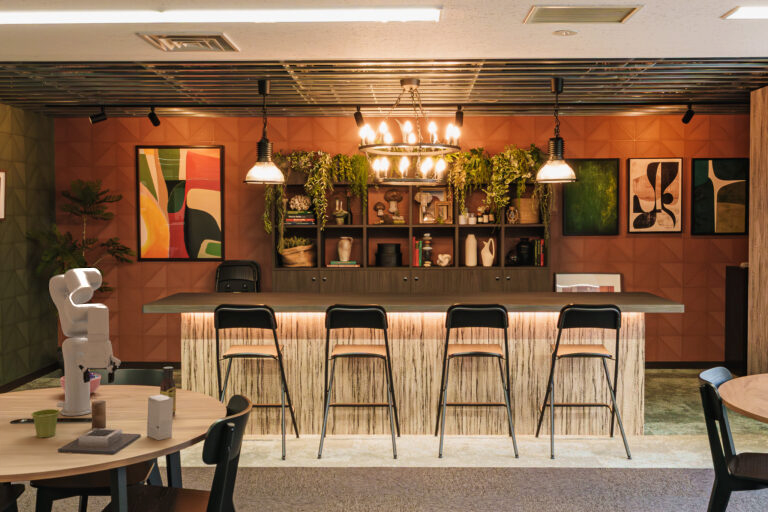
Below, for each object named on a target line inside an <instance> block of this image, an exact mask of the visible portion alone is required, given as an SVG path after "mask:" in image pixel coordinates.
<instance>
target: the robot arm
mask: <svg viewBox="0 0 768 512" xmlns="http://www.w3.org/2000/svg"><path fill="white" fill-rule="evenodd" d="M102 282H103V277H102V274H101V271H99V270H98V269H97V268H95V267H91V268H88V267H87V268H85V267H84V268H82V267H81V268H71V269H68V270H67V271H66V272H65V273H64V274H58V275H55V276H52V277H51V278H50V279H49V284H48V287H49V294H50V297H51V299H52V300H51V301H52V302H53V303H54V304H55V307H56V309H57V311H58V316H59V320H60V321H59V322H60V325H61V330H62V331H61V332H62V333H63V335H64V336H65V337H68V338H66V339H64V341H63V342H62V344H61V348H62V349H61V350H62V357H63V362H64V363H63V364H64V376H65V391H64V401H57V404H56V408H62V410H60V414H61V415H63V416H67V417H75V416H76V417H77V416H83V415H88V414H92V405H91V394H90V373H91V372H90V371H91V370H90V369H106V370H108V373H107V383H108V384H112V383H114V382H115V372H116V371H117V370H118V369H119V367H120V365H121V363H122V361H121V359H120V358H117V357H115V356H114V352H113V345H112V342H111V340H110V327H109V325H110V324H109V323H110V319H109V317H110V314H109V313H110V311H109V307H108V306H107V305H105V304H104V303H87V302H88V301H90V300H91V299H92V297H93V295H94V291H96V290H98V289H99V288H100V287H101V286H102ZM114 363H115V364H114Z"/></svg>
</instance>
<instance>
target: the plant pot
mask: <svg viewBox="0 0 768 512" xmlns="http://www.w3.org/2000/svg"><path fill="white" fill-rule="evenodd" d="M59 414H61V410H59V409H54V408H50V409H40V410H37V411H36V410H35V411H33V412H31V417H32V419H33V424H34V427H35V435H36V437H37V438H38V439H39V438H40V439H42V438H51V437H53V436H55V435H56V433H57V432H56V431H57V430H56V429H57V423H58V417H59Z"/></svg>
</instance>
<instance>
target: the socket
mask: <svg viewBox="0 0 768 512" xmlns="http://www.w3.org/2000/svg"><path fill="white" fill-rule="evenodd" d="M141 437H142V436H141V433H123V429H121V428H104V429H101V428H94V429H92V428H91V429H90V430H88V431H87V432H85V433H83V434H82V435H79V436H78V437H77V438H75V439H74V440H72V441H70V442H69V443H67V444H65V445H63V446H61V447H60V448H58V449H57V453H68V452H71V453H72V454H73V453H74V454H95V455H96V454H97V455H115V454H117V453H118V452H120V451H121V450H123V449H124V448H126V447H128V446H129V445H131V444H132V443H133V442H135V441H137V440H138V439H140V438H141Z"/></svg>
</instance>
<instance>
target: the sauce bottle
mask: <svg viewBox="0 0 768 512" xmlns="http://www.w3.org/2000/svg"><path fill="white" fill-rule="evenodd" d="M162 371H163V377H162V378H163V379H162V380H161V382H160V386H159V387H160V388H159V389H160V390H159V395H164V396H168V397H170V398H173V417H174V416H175V415H176V408H177V407H176V406H177V405H176V404H177V403H176V402H177V386H176V383H175V380H174V379H175V378H174V367H173V366H164V367H163V368H162Z"/></svg>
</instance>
